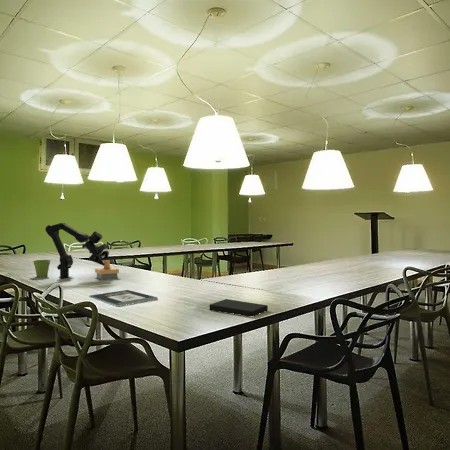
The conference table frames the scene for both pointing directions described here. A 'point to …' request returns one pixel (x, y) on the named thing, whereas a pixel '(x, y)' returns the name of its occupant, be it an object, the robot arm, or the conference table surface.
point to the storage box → (107, 276)
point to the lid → (106, 268)
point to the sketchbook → (123, 297)
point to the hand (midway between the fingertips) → (107, 264)
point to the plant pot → (41, 267)
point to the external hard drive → (238, 307)
